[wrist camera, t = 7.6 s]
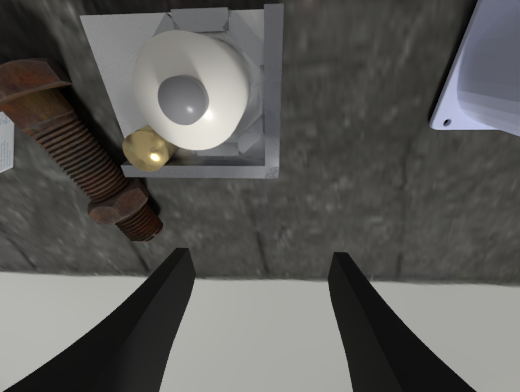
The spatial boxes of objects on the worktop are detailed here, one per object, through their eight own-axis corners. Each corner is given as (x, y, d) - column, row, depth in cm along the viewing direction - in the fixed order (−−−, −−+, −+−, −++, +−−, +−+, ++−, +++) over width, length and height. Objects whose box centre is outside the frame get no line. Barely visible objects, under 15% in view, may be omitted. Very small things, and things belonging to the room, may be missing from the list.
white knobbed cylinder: (254, 41, 13) (241, 35, 8) (249, 128, 16) (237, 162, 11) (168, 33, 13) (103, 20, 8) (178, 121, 16) (135, 152, 11)
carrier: (282, 12, 13) (284, -1, 10) (277, 163, 19) (278, 185, 16) (93, 18, 14) (42, 8, 11) (142, 162, 19) (117, 183, 16)
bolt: (160, 212, 25) (48, 70, 17) (185, 218, 22) (65, 49, 14) (114, 251, 22) (-53, 97, 14) (137, 264, 19) (-59, 75, 11)
